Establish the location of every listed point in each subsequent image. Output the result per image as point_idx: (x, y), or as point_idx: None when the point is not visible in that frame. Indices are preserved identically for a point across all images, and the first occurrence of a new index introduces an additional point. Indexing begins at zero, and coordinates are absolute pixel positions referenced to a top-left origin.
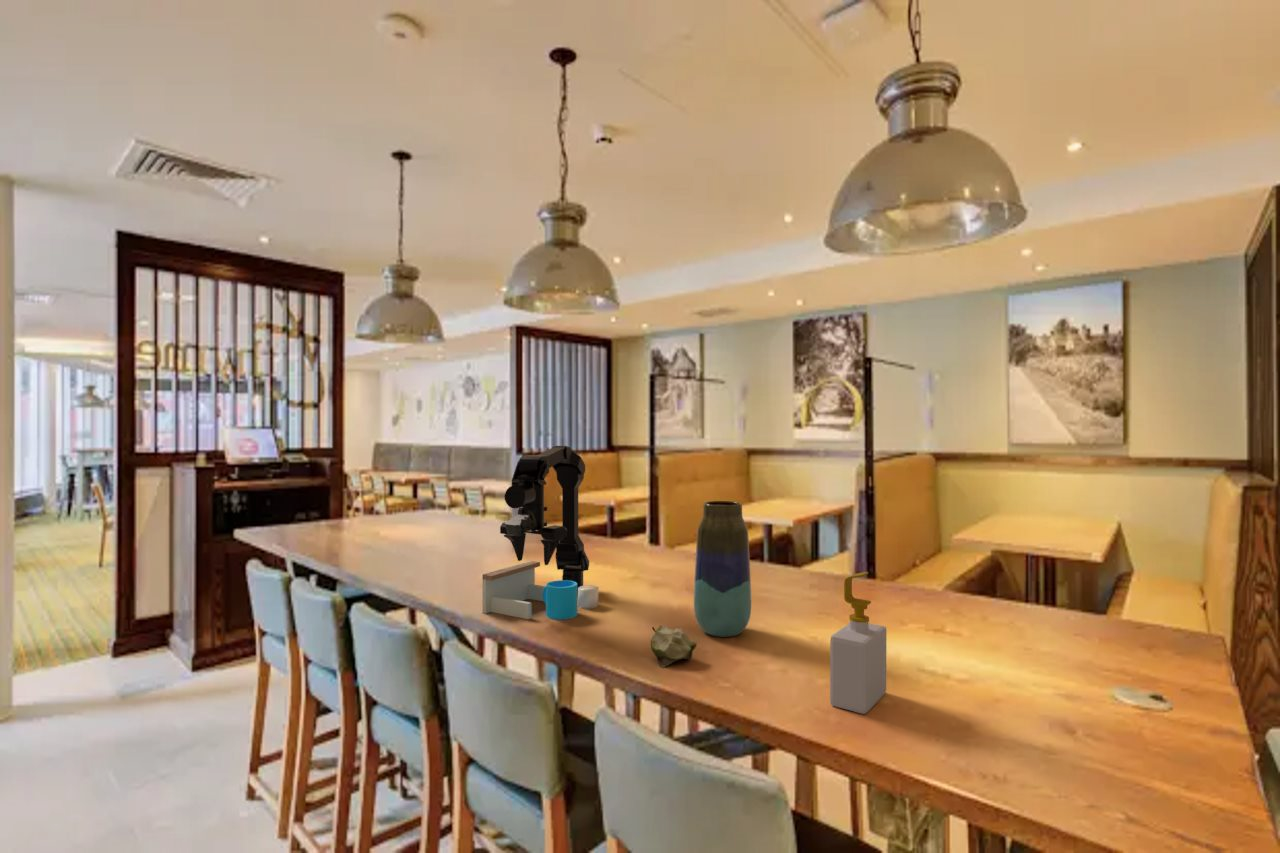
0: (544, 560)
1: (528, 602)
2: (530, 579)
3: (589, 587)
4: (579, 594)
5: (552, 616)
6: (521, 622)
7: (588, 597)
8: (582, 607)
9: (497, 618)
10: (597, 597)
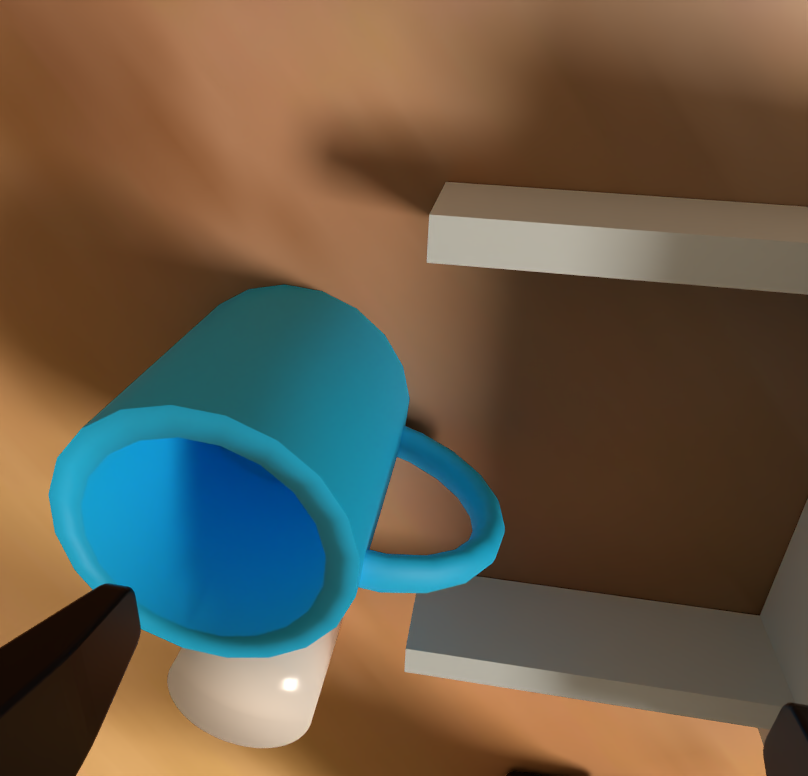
0: (64, 637)
1: (457, 255)
2: None
3: (239, 709)
4: None
5: (284, 291)
6: (446, 74)
7: None
8: None
9: (741, 64)
10: None
